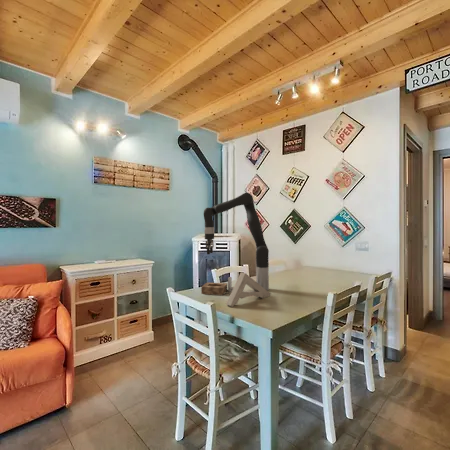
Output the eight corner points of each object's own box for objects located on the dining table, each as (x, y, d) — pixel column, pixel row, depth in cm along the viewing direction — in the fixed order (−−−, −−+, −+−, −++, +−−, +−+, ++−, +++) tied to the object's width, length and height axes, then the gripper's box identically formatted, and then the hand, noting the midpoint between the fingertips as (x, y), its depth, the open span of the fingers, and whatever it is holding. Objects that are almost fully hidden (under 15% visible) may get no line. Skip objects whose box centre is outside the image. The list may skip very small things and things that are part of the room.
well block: (227, 289, 208) (227, 283, 207) (223, 294, 194) (223, 287, 194) (206, 288, 211) (206, 282, 211) (201, 293, 197) (201, 286, 197)
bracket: (228, 291, 203) (228, 278, 203) (229, 290, 207) (229, 276, 207) (238, 292, 202) (238, 278, 201) (239, 290, 205) (239, 277, 205)
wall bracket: (258, 324, 182) (230, 305, 166) (253, 322, 186) (225, 304, 170) (270, 293, 190) (245, 273, 174) (265, 292, 194) (240, 272, 177)
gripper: (211, 233, 208) (212, 254, 208) (216, 232, 221) (216, 252, 222) (202, 233, 209) (202, 254, 209) (207, 232, 223) (207, 252, 223)
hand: (209, 253), depth 216 cm, fingers open, 8 cm apart
